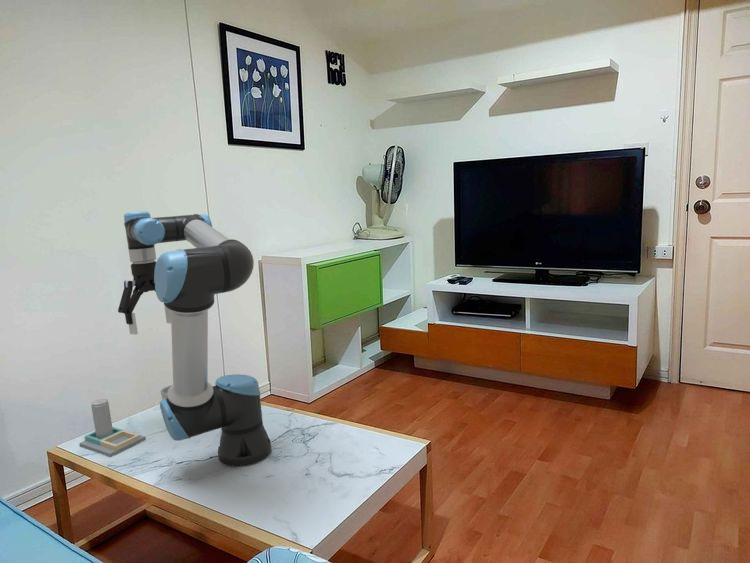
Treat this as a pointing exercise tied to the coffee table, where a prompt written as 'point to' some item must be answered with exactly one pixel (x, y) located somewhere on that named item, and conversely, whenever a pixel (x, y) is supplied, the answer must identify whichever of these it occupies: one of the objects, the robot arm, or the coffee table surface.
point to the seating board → (112, 442)
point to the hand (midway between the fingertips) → (152, 328)
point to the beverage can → (102, 418)
